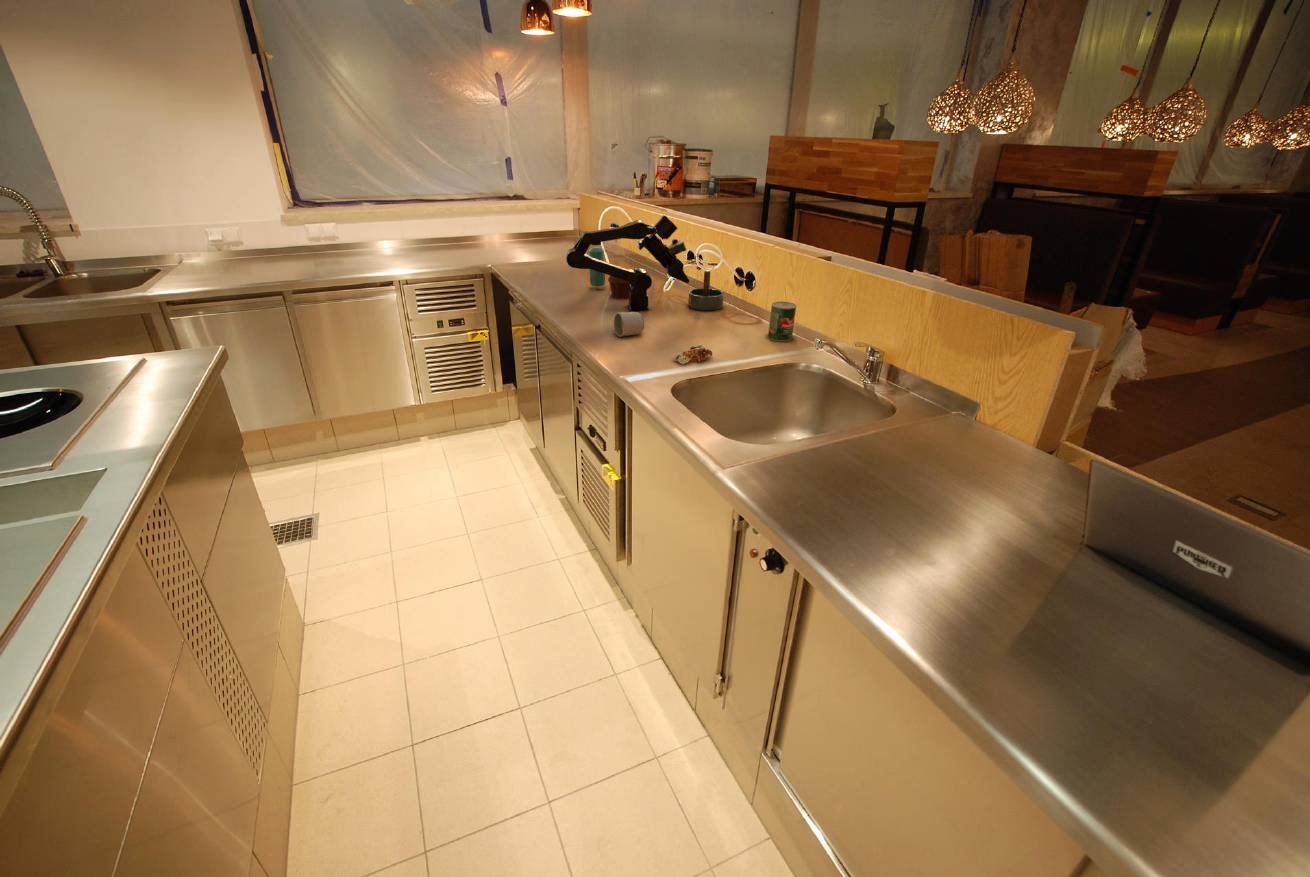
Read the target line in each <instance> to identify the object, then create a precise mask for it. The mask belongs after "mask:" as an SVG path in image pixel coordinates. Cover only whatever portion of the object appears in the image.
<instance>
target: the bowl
mask: <svg viewBox="0 0 1310 877" xmlns="http://www.w3.org/2000/svg"><path fill="white" fill-rule="evenodd" d="M709 296H710V297H707V296H703V287H697V288H693V289H690V290H689V291H688V300H687V301H688V302H687V303H688V304H687V305H688V307H690V308H692V310H693V309H694V310H697V311H703V312H705V311H706V312H708V311H709V312H710V311H711V312H712V311H717V310H719V309H721V308H723V306H724V297H725V295H724V291H722V290H720V289H716V288H710V289H709Z"/></svg>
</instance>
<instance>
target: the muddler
mask: <svg viewBox="0 0 1310 877" xmlns="http://www.w3.org/2000/svg"><path fill="white" fill-rule="evenodd" d="M710 286H711V269H705V270H704V271H703V286H702V288H703V296H707V297H710V296H709V289H710Z"/></svg>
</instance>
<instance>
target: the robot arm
mask: <svg viewBox="0 0 1310 877" xmlns="http://www.w3.org/2000/svg"><path fill="white" fill-rule="evenodd" d="M678 229H679V228H678V227H677V226H676V224H675V223H674V222H673V221H672V220H670V219H669V218H668V217H667V215H665V214H663V215H662V216H661V217H660V218H659V220H658V221H657V222H656V223H655V224H648V223H645V222H644V221H643V220H640V219H636V220H633V221H630V222H628V223H625V224H624V225H620V226H616V227H609V228H603V229H597V230H586V231H584V232H583V233H582V235H581V237H580V238H579V239H578V240H577V241H576V243H575V244H574V246H573V247H572V248H570V249H568V250H567V251H566V253H565V254H566V255H565V258H566V263H567V265H568V267H570V268H573V269H581V270H590V269H591V270H594V271H597V272H601V273H604V274H605V275H607V276H613V277H616V278H619V279H622V280H625V281H627V282H629V283H630V284H629V286H630V289H631V291H629V298H628V305H627V308H629V310H630V311H631V312H636V311H637V312H638V311H648V310H649V296H648V290H649V289H650V288H651V287H652V285H653V280H652V278H651V276H650V274H649V273H648V272H647V271H646V268H640V267H638V266H635V265H634V266H633V269H628V268H625V267H622V266H619V265H616V264H613V263H610V262H607V261H605V260H604V261H601V260H598V259H595V258H592V257H591V256H589V254H587V251H589V248H590V246H592V245H591V244H592V243H597V242H601V243H603V242H609V241H617V240H622V239H623V240H624V239H625V240H638V241H637V244H638V246H637V248H638V250H639V251H642V249H643V248H645V249H646V250H647V252H649V254H651V255H652V257H653V258H654V259H655V261H657V262H658V263H659V264H660V265H661V266H662V268H664V269H665V271H666V273H667V274H668V275H669V277H670V278H672V279H676V280H678V281H681V282H683V283H685V284H689V283H690V280H689V277H688V276H687V274H686V272H685V271H684V266H685V265H684V263H683V262H682V261H681V260H680V259H679V258H678V257H677V255H679V254H680V253H682V252H686V251H687V250H688V249H687V247H686V243H685V242H684V240H683V239H679V240H678V239H677V238H673V239H672V240H671V244H670V245H667V244H664V242H662V241H663V240H668V239H669V238H671V236H672V235H673V234H674V233H675V232H677V230H678Z"/></svg>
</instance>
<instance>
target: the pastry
mask: <svg viewBox="0 0 1310 877" xmlns="http://www.w3.org/2000/svg"><path fill="white" fill-rule="evenodd" d="M708 356H710V357H713V351H712V350H711V349H707V348H706V347H705V346H704V345H703V344H699V345H695V346H691V347H690V348H689V349H688V350H687V349H686V350H684V351H683V352H682V354H677V355H676V356H675V359H674V361H675V362H679V363H680V364H681V365H685V364H687V363H689V362H690V360H696V359H697V361H698V363H702V361H706V360H707V357H708Z"/></svg>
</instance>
